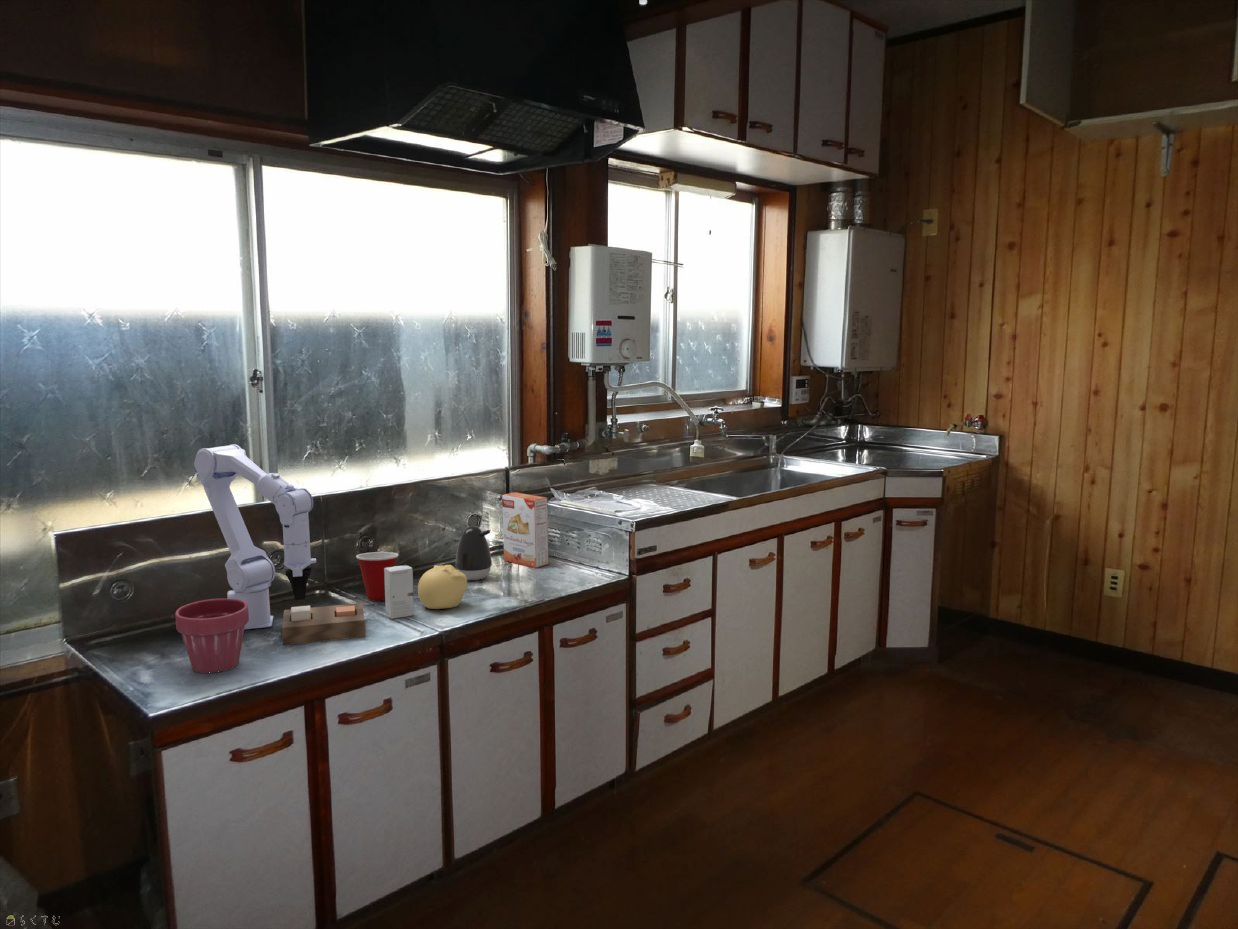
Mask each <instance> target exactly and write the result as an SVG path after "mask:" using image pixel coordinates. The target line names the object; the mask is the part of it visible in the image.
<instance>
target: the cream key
mask: <svg viewBox="0 0 1238 929" xmlns="http://www.w3.org/2000/svg"><path fill="white" fill-rule="evenodd" d="M310 608H311V605H300V606H299V605H298V606H291V608H290V610H291V621H299V620H310V619H311V610H310Z"/></svg>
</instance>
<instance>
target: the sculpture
mask: <svg viewBox="0 0 1238 929" xmlns="http://www.w3.org/2000/svg"><path fill="white" fill-rule="evenodd" d="M467 583H468V580H467V577H466V575H465V574H463V573H461V572H460V571H459V570H457V568H456V567H454V566H453V565H451V564H445V565H442V564H441V565H435V564H434V566H433V568H431V569H428V570H426V571H425V572H424V573H423V574H422V576H421V577H420V578H419V581H418V584H417V595H418V597H419V600H420V603H422V605H423V606H424V607H425V608H427V609H430V610H431V609H432V610H433V609H434V610H440V609H451V608H456V607H457V606H458V605H459V604H460V603H461V601H462V599H463V597H464V595H465V592H467V588H468V585H467Z"/></svg>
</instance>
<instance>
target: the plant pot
mask: <svg viewBox="0 0 1238 929" xmlns="http://www.w3.org/2000/svg"><path fill="white" fill-rule="evenodd" d="M248 621H249V612H248V604H247V603H246V602H245V601H242V600H238V599H227V598H211V599H202V600H198V601H194V602H191V603H188V604H185V605H182V606H180V607H179V608H177V610H176V611H175V628H176V629H175V630H176V631H177V632H178V633H180V634H181V637H182V640H183V643H184V647H185V649H186V653H187V656H188V658H189V662H190V666H191V668H192V670H193V672H195V671H196V673H198V672H200V673H199V674H212V673H211V672H217V673H219V672H218V671H222V672H225V671H224V670H226V671H228V670H227V669H229V670H231V669H230V668H232V667H234V668H235V667H236V665H237V664H238V665H239V663H240V657H241V652H242V646H243V639H244V633H245V629H244V627H245V625H246V624H247V623H248ZM238 665H237V666H238ZM232 669H233V668H232ZM209 672H210V673H209Z"/></svg>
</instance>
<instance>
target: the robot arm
mask: <svg viewBox="0 0 1238 929" xmlns="http://www.w3.org/2000/svg"><path fill="white" fill-rule="evenodd" d="M193 466H194V468H195V470H196V473H197V476H198V478H199V480H200V482H201V485H202V487H203V489H204V492H205V495H206V497H207V499H208V502H209V504H210V507H211V509H212V511H213V514H214V517H215V520H216V521H217V524H218V526H219V528H220V530H221V534H222V535H223V537H224V540H225V542H226V546H227V547H228V550H229V552H230V556H228V558H227V559H228V560H227V561H226V562H225V564H224V567H225V570H226V576H227V577H226V578H227V582H228V585H229V586H230V588H232V590H228V591H227V593H226V594H227V598H226V599H238V600H242V601H245V602H246V603H247V604H248V612H249V621H248V623H247V624H246V625H245V627H244V630H251V629H263V628H271V627H272V626H273V620H274V615H271V605H270V590H269V589H270V588H269V587H271V586H272V581H274V579H275V576H276V567H275V565H274V562H272V560H271V559H270V558H269V557H268V555H267V553H266V551H265V550H264V549H262V548H259V547H257V546H255V545H254V542H253V540H252V538H251V536H250V533H249V531H248V528H247V526H246V524H245V521H244V519H243V517H242V514H241V511H240V510H239V506H238V504H237V502H236V500H235V498H234V497H235V496H234V495H233V492H232V490H231V483H233V481H235V479H236V478H237V476H238V475H239V476H241V477H243V478H244V479H246V480H247V481H248V482H250V483H252V484H253V485H255V486H256V490H257V493H258V494H259V495H260V496H262V497H264V499H266V500H268V502H270V503H272V504H274V507H275V511H276V512H277V514H278V516H279V521H280V524H281V525H282V532H283V533H282V535H283V536H282V538H283V539H282V540H283V553H284V561H283V565H284V567H286V569H285V571H284V573H285V576H286V578H287V579H288V582H289V583H290V586H291V590H292V594H293V597H294V600H295V601H302V600H306V595H307V588H308V587H307V586H308V581H309V578H310V575H311V574H312V566H311V565H312V564H315V563H317V558H313V557H311V556H312V555H311V554H312V553H311V542H310V541H311V539H310V519H309V513H310V512H311V511H312V509H313V508H314V498H313V496H312V494H311V492H309V491H308V489H306V488H304V487H303V488H298V487H294V485H292V484H290V483H289V482H287V481H286V480H285V479H283V478H282V477H280V476H281V475H280V474H279V473H277V472H269V473H266V471H264V470H263V469H262V468H260V467H259V466H258V465H257V464H256V463H254V462H253V461H252V459H250V458H249V457H248V456H247V452H246V450H245V449H243V448H241V446H240V445H238V444H235V443H234V444H229V445H223V446H222V445H221V446H216V447H215V446H214V447H209V448H207V447H203V448H200V449H198V451H197V452H196V455H195V458H194V462H193Z"/></svg>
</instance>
